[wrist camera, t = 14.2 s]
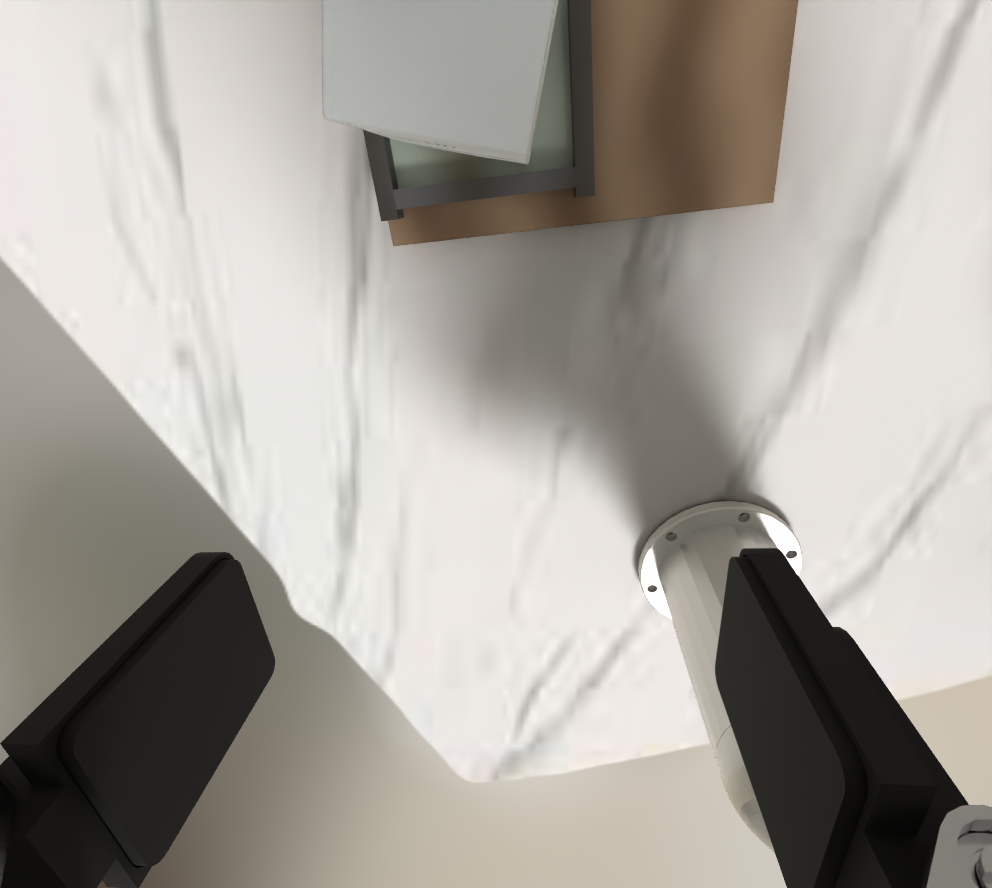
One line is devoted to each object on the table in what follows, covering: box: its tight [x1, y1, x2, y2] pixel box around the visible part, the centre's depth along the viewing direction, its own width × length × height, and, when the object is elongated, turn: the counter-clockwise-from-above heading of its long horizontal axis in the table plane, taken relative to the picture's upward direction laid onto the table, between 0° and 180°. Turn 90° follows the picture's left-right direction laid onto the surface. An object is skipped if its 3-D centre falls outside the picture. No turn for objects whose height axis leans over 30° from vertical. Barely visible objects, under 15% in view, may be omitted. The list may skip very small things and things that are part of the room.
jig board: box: [363, 0, 798, 246], centre depth 26 cm, size 22×16×3 cm
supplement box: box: [322, 0, 558, 165], centre depth 21 cm, size 7×7×13 cm
